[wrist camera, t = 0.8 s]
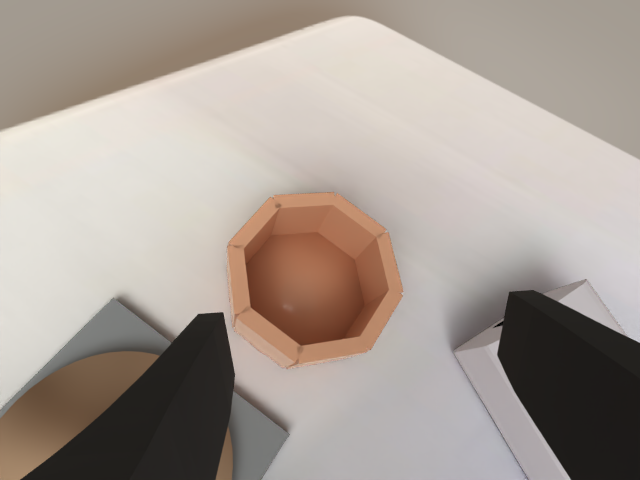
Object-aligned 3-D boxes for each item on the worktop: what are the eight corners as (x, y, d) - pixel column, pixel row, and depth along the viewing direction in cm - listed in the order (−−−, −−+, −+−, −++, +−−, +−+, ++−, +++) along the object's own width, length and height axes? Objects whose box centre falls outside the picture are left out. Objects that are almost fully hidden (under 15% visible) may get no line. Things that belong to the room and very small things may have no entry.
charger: (591, 599, 22) (446, 352, 25) (676, 498, 25) (538, 293, 29) (681, 648, 17) (492, 343, 21) (769, 519, 21) (594, 275, 24)
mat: (116, 703, 16) (112, 714, 15) (-105, 520, 16) (-116, 524, 16) (287, 433, 21) (289, 434, 21) (116, 300, 22) (113, 297, 21)
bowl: (320, 398, 22) (341, 398, 18) (196, 303, 23) (191, 283, 19) (393, 279, 26) (425, 258, 22) (287, 200, 26) (299, 165, 22)
